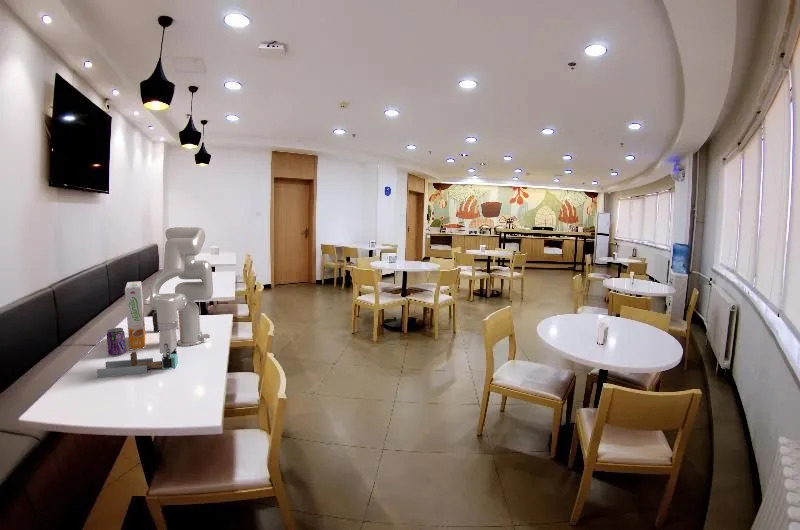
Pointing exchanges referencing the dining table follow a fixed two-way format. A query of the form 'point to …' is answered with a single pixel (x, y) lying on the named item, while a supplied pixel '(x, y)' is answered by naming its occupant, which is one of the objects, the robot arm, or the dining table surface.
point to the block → (174, 361)
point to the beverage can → (116, 341)
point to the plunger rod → (149, 364)
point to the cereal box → (135, 314)
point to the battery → (155, 322)
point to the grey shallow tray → (123, 368)
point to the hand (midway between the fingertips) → (170, 363)
